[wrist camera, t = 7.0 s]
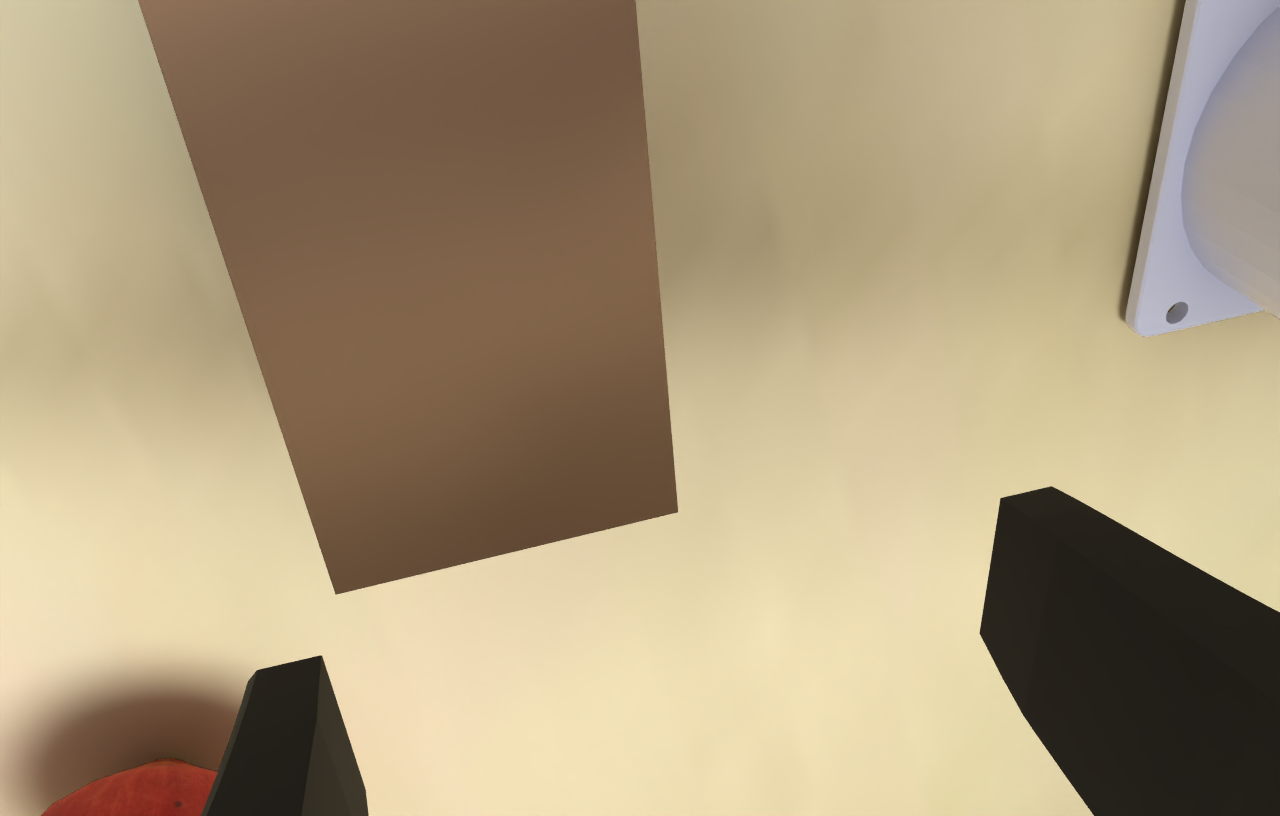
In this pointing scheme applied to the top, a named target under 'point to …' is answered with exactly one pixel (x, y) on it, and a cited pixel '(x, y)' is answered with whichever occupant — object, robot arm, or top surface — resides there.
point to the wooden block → (437, 262)
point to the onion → (142, 792)
